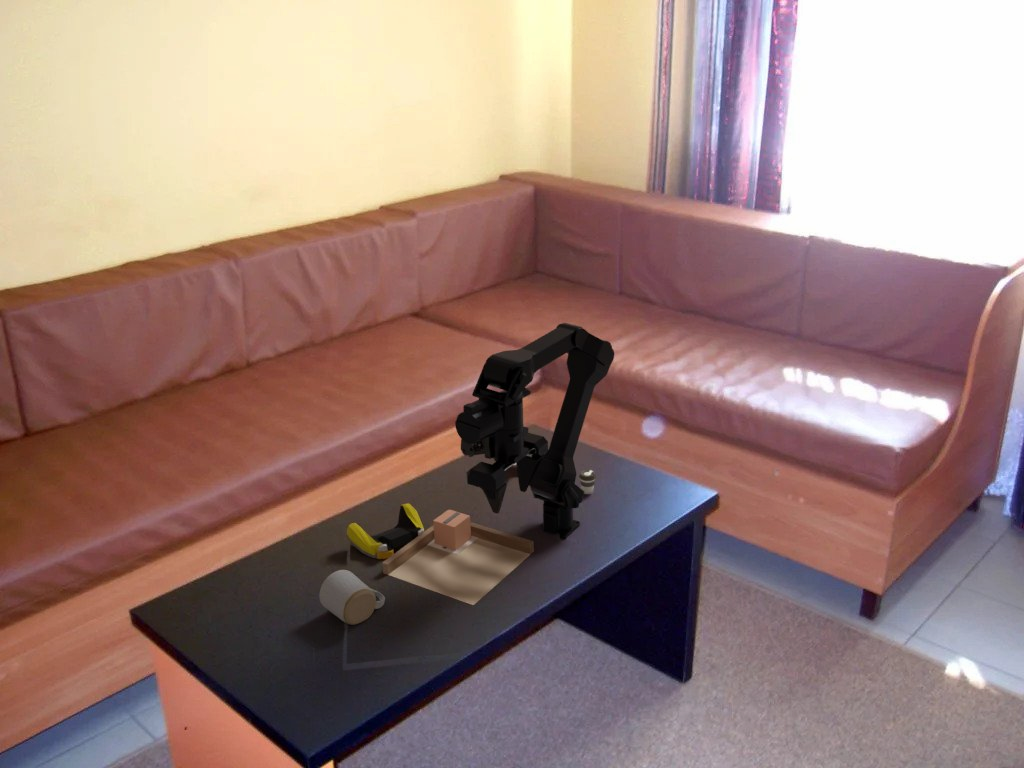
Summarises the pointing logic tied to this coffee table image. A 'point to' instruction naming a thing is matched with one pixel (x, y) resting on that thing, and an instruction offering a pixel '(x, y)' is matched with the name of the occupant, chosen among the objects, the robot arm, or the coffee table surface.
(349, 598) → the ceramic mug
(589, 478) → the coffee cup
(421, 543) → the arena
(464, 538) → the cube
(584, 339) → the robot arm
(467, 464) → the coffee table surface
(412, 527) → the gaming controller
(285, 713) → the coffee table surface
